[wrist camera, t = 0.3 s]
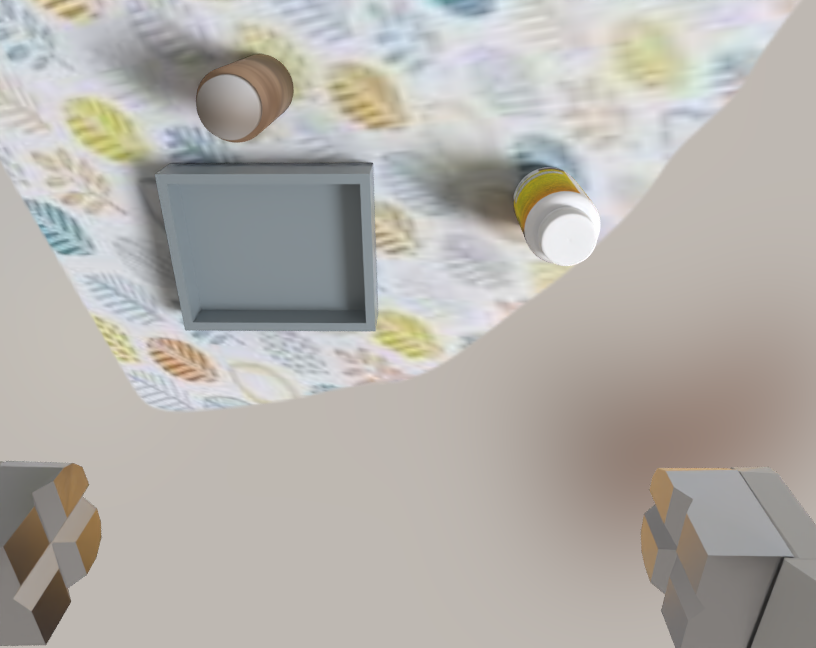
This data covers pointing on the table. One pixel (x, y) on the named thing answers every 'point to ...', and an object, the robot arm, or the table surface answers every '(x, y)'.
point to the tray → (272, 245)
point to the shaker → (244, 97)
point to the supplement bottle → (556, 216)
